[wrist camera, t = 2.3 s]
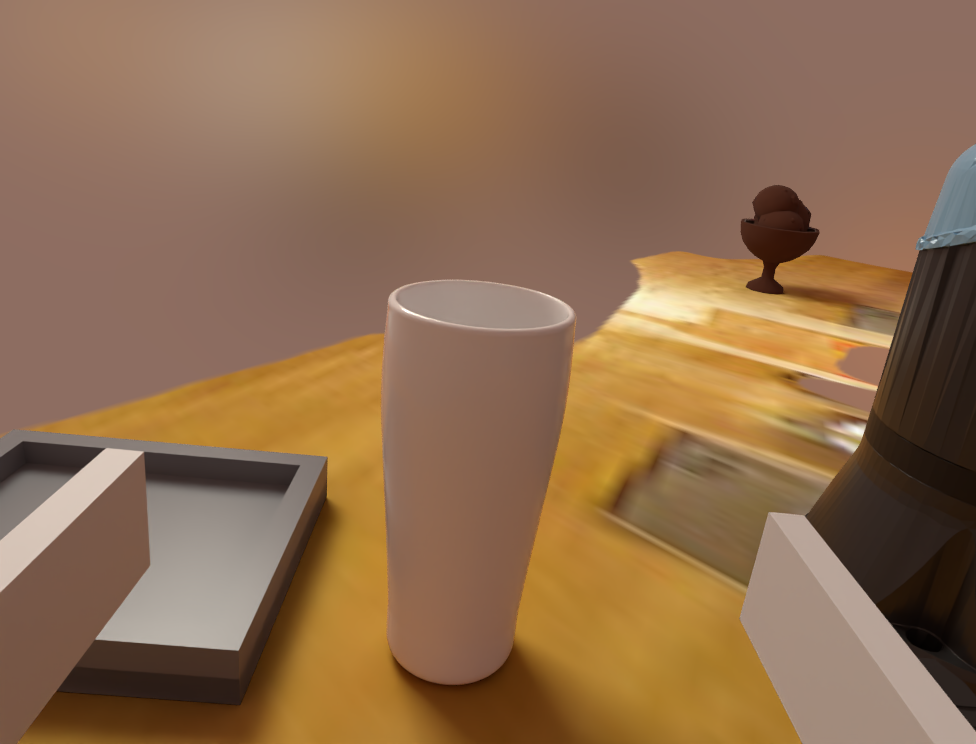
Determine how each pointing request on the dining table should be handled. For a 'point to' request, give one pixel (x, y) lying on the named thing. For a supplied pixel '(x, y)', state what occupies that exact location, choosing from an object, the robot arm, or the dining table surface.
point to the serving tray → (184, 559)
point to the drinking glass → (466, 464)
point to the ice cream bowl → (777, 233)
